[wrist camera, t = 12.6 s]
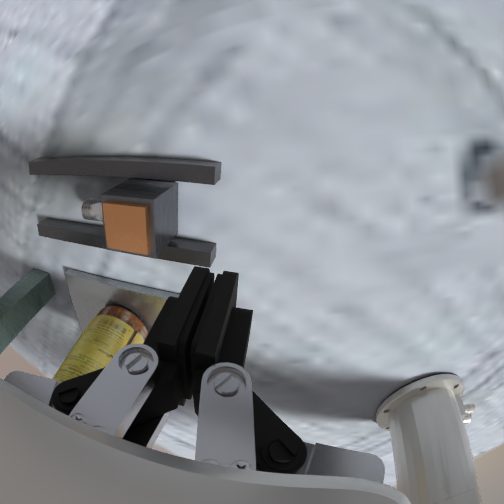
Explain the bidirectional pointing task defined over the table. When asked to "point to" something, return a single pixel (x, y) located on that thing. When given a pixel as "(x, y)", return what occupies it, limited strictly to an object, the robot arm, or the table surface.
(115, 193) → the orange-faced grey cube
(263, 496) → the robot arm
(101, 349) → the sauce bottle
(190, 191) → the table surface
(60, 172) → the frame
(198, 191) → the table surface
